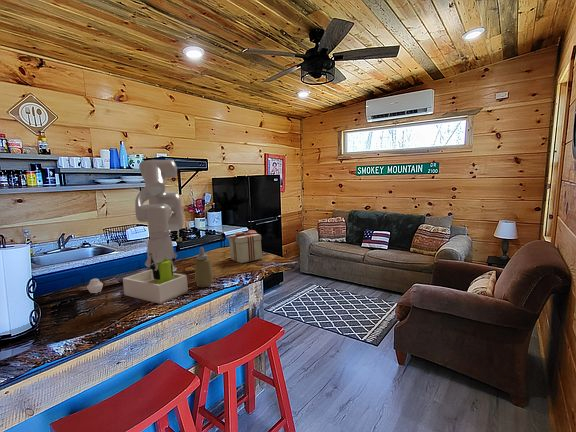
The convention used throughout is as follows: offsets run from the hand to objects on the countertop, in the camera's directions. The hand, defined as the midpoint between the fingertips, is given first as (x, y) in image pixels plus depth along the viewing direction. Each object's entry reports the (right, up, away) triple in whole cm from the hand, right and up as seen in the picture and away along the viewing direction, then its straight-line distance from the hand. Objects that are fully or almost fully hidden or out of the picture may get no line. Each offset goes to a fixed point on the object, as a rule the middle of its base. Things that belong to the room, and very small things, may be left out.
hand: (163, 276), depth 129 cm
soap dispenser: (0, -7, +1) cm, 7 cm away
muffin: (-34, -9, +8) cm, 36 cm away
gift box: (+26, -1, +56) cm, 62 cm away
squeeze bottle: (+14, -7, +11) cm, 19 cm away
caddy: (-5, -8, +4) cm, 10 cm away
